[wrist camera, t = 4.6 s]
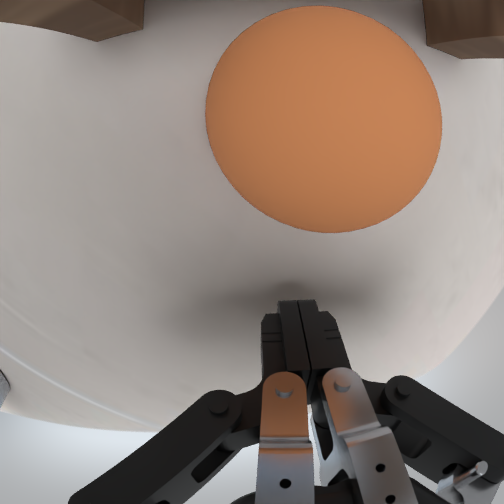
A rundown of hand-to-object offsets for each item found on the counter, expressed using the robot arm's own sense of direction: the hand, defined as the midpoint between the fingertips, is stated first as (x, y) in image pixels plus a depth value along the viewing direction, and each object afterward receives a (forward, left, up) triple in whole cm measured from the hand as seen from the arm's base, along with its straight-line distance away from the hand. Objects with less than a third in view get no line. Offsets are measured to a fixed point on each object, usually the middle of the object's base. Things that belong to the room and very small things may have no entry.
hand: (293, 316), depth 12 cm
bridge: (+11, +7, -2) cm, 13 cm away
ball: (+7, +4, +2) cm, 8 cm away
